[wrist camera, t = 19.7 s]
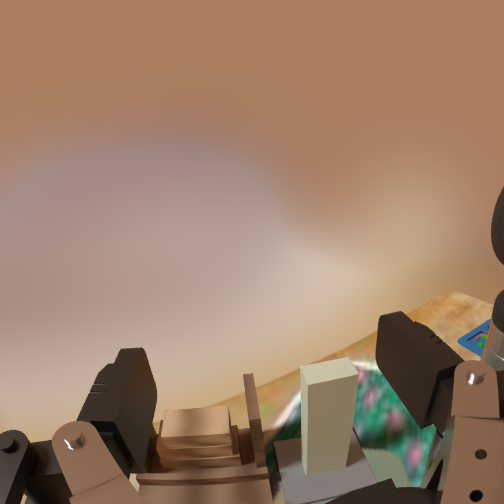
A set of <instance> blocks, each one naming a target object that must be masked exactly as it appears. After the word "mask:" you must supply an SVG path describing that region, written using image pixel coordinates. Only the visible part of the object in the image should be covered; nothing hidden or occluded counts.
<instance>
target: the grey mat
mask: <svg viewBox="0 0 504 504" xmlns="http://www.w3.org/2000/svg"><path fill="white" fill-rule="evenodd" d="M274 448H275V453H276V457H277V462H278V467H279V472H280V477H281V482H282V486H283V491H284V496H285V501H286V504H311V503H315V502H320V501H324V500H329V499H332V498H337V497H340V496H342V495H344V494H346V493H348V492H350V491H352V490H356V489H359V488H362V487H366V486H369V485H372V484H375V483H377V481H376V479H375V476H374V474H373V472H372V470H371V468H370V466H369V464H368V461H367V459H366V457H365V455H364V453H363V451H362V448H361V446H360V444H359V442H358V440H357V438H356V436H355V433H354V431H353V429H352V432H351V439H350V445H349V451H348V457H347V462H346V467H345V468H342V469H338V470H335V471H330V472H326V473H322V474H318V475H313V476H308V477H306V474H305V471H304V467H303V464H302V460H301V437H298V438H292V439H287V440H281V441H274Z"/></svg>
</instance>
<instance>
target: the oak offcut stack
mask: <svg viewBox="0 0 504 504" xmlns="http://www.w3.org/2000/svg"><path fill="white" fill-rule="evenodd" d="M156 450H157V452H158V454H159V456H160V460H159V461H160V463H161V465H162V466H163V468H164V470H190V469H211V468H225V467H236V466H242V461H241V450H240V440H239V433H238V428H237V425H234V426H231V419H230V413H229V408H228V406H219V407H208V408H195V409H179V410H165V414H164V420H161V423H160V428H159V434H158V440H157V446H156Z"/></svg>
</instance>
